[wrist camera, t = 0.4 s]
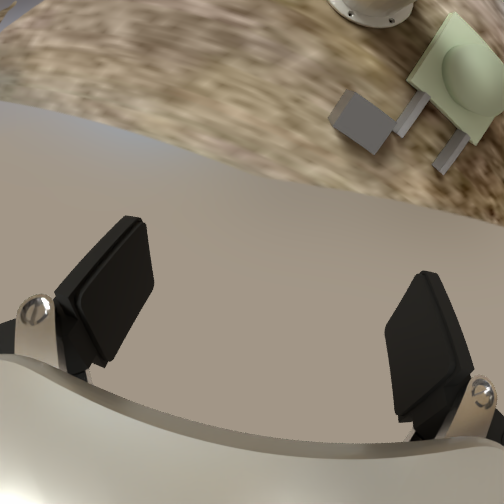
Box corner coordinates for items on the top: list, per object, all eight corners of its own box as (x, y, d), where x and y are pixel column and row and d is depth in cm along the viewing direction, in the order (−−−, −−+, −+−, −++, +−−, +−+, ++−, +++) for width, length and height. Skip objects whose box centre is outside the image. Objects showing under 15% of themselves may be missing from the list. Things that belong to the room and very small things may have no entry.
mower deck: (448, 13, 19) (468, 8, 14) (508, 79, 21) (531, 84, 16) (378, 120, 32) (390, 128, 28) (444, 176, 34) (461, 192, 30)
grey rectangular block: (346, 89, 31) (355, 92, 25) (382, 114, 32) (397, 123, 26) (327, 117, 34) (332, 126, 28) (363, 141, 35) (374, 155, 29)
